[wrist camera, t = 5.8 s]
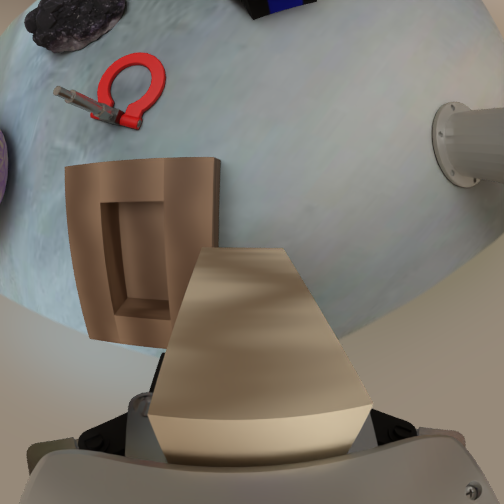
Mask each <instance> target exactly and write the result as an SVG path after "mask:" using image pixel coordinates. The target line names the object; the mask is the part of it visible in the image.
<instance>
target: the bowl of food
mask: <svg viewBox="0 0 504 504" xmlns="http://www.w3.org/2000/svg"><path fill="white" fill-rule="evenodd" d="M7 175H8V153H7V145H6V142H5V138H4V135H3V133H2V131H1V130H0V204H1V201H2V198H3V195H4V193H5V187H6V182H7Z"/></svg>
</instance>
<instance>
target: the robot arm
mask: <svg viewBox="0 0 504 504" xmlns="http://www.w3.org/2000/svg"><path fill="white" fill-rule="evenodd" d="M433 145H434V150H435V154H436V157H437V161H438V163H439V165H440V167H441V169H442V171H443V173H444V174H445V176H446V177H447V178H448V179H449V180H450V181H451V182H452V183H454V184H455V185H457V186H460V187H465V188H468V187H472V186H475V185H476V184H477V183H478V182H479V181H480V180H481V179H482V180H488V181H493V182H498V183H503V184H504V108H492V109H481V110H471V109H470V108H469V107H467V106H466V105H464V104H462V103H459V102H450V103H446V104H444V105H443V106H442V107H440V108H439V110H438V112H437V113H436V116H435V119H434V123H433ZM164 356H165V353H162V354H161V356H160V359H159V363H158V366H157V369H156V372H155V375H154V378H153V381H152V384H151V388H150V391H149V392H146V393H141V394H138V395H136V396H135V397H133V398H132V399H131V401H130V402H129V406H128V412H127V413H125V414H123V415H121V416H119V417H116V418H114V419H112V420H110V421H107V422H105V423H103V424H101V425H98V426H96V427H94V428H91V429H89V430H87V431H85V432H83V433H82V435H81V436H80V437H79V439H74V438H73V437H71V438H66V439H60V440H54V441H47V442H40V443H35V444H32V445H31V446H30V447H29V448H28V450H27V463H28V469H29V475H30V477H29V479H28V481H27V484H26V486H25V489H24V491H23V494H22V496H21V499H20V502H19V504H500V503H499V501H498V499H497V497H496V495H495V493H494V492H493V490H492V488H491V486H490V484H489V482H488V481H487V479H486V477H485V475H484V473H483V472H482V470H481V469H480V467H479V466H478V464H477V462H476V461H475V459H474V458H473V457H472V455H471V454H470V453H469V451H468V450H467V449H466V448H465V438H464V436H463V435H462V434H461V433H459V432H457V431H452V430H441V429H432V428H424V427H419V429H415V427H414V426H413V425H412V424H411V423H409V422H407V421H404V420H402V419H399V418H396V417H393V416H391V415H388V414H385V413H382V412H380V411H377V410H374V409H372V408H371V410H370V412H369V414H368V416H367V418H366V420H365V422H364V424H363V426H362V428H361V430H360V432H359V433H358V435H357V437H356V439H355V441H354V442H353V444H352V446H351V448H350V449H349V451H348V453H347V454H345V455H341V456H336V457H331V458H326V459H320V460H314V461H307V462H300V463H292V464H283V465H272V466H256V467H205V466H189V465H178V464H169V463H168V462H167V460H166V458H165V456H164V453H163V451H162V449H161V447H160V444H159V442H158V440H157V437H156V435H155V433H154V430H153V428H152V425H151V422H150V420H149V417H148V415H147V414H148V410H149V407H150V403H151V400H152V396H153V393H154V389H155V386H156V382H157V379H158V376H159V372H160V369H161V366H162V362H163V359H164Z"/></svg>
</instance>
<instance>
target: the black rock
mask: <svg viewBox="0 0 504 504" xmlns="http://www.w3.org/2000/svg"><path fill="white" fill-rule="evenodd" d="M124 7H125V0H41V1H40V3H39V4H38V7H37V8H36V9H34V10H32V11H31V12H29V13H28V14H27V15H26V18H25V22H24V23H25V27H26V29H27V31H28V32H29V33H33V41H34V42H35V43H36V44H37V45H38V46H42V47H44V48H46V49H47V50H51V51H52V52H54V53H57V52H64V51H75V50H79V49H82V48H83V47H85V46H86V45H87V44H89V43H90V42H92V41H95V40H97V38H99V37H100V36H101V35H103V34H105V33H106V32H107V31H108V30H110V29H112V28H113V27H114V26H115V25H116V23H117V22H118V21H119V20H120V18H121V16H122V14H123V10H124Z"/></svg>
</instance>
